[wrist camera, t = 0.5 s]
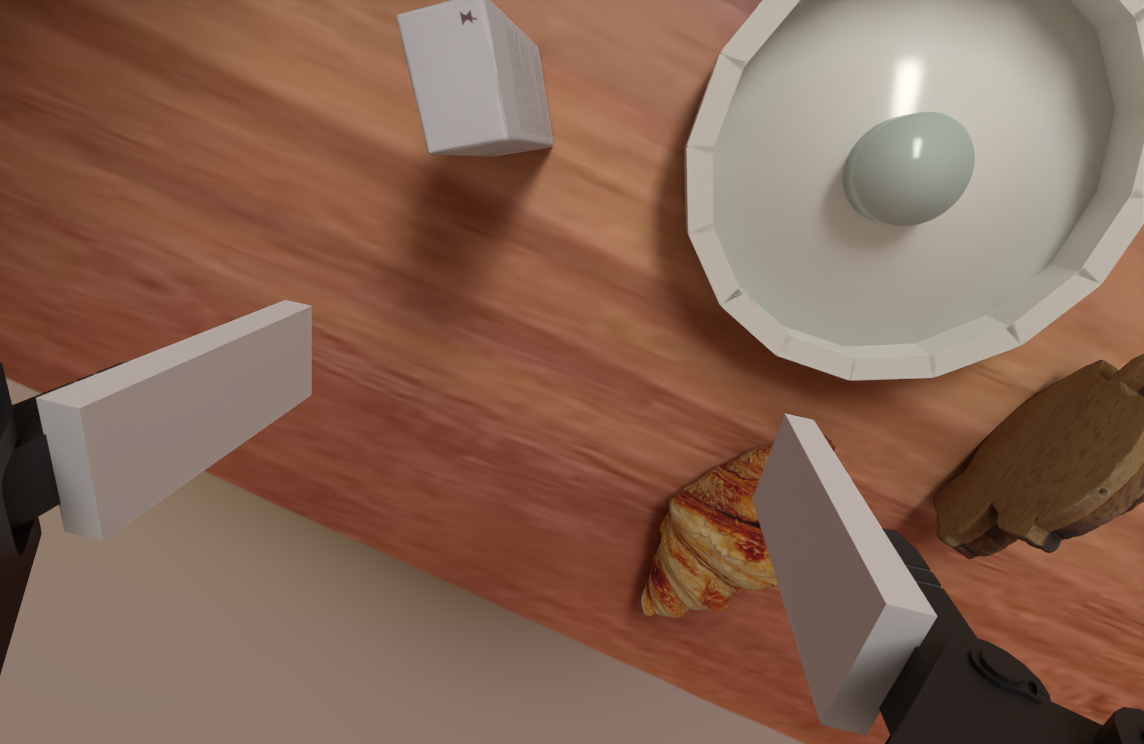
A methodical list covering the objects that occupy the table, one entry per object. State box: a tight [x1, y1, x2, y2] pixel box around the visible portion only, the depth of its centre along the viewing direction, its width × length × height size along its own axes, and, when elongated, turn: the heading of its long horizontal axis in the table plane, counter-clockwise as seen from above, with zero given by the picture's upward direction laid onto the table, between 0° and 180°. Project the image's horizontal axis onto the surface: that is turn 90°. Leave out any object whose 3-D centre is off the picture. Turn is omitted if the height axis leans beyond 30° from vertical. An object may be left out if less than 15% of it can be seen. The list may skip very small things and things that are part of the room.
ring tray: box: [684, 0, 1144, 381], centre depth 32 cm, size 25×25×4 cm
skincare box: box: [397, 0, 553, 156], centre depth 30 cm, size 6×4×12 cm
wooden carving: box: [933, 354, 1144, 559], centre depth 34 cm, size 16×5×10 cm, turn 154°
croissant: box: [641, 435, 835, 618], centre depth 42 cm, size 21×10×8 cm, turn 147°
